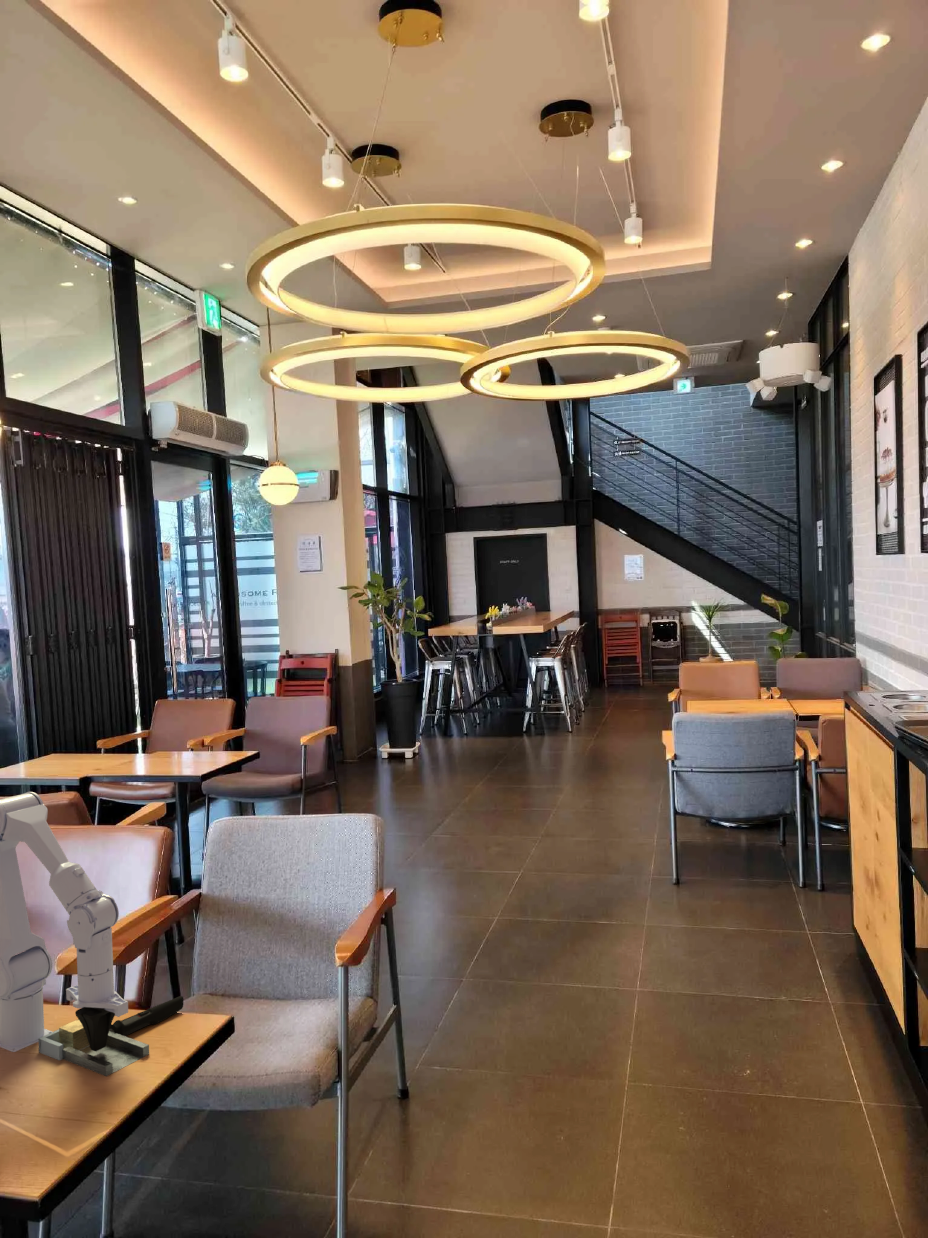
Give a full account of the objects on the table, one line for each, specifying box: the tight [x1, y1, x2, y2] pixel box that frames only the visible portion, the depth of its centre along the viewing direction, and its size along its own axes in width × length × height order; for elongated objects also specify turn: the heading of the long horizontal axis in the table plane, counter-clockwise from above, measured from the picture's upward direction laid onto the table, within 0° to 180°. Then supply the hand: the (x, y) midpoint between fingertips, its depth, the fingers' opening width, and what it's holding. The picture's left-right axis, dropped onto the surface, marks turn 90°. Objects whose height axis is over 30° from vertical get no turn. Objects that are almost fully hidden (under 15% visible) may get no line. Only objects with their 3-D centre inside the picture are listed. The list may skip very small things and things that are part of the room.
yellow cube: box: [58, 1018, 89, 1050], centre depth 158 cm, size 4×4×4 cm
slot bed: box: [62, 1031, 150, 1077], centre depth 153 cm, size 12×8×2 cm
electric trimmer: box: [109, 995, 184, 1037], centre depth 165 cm, size 4×16×3 cm, turn 143°
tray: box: [37, 1028, 90, 1061], centre depth 158 cm, size 6×10×3 cm, turn 147°
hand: (98, 1048), depth 154 cm, fingers closed
